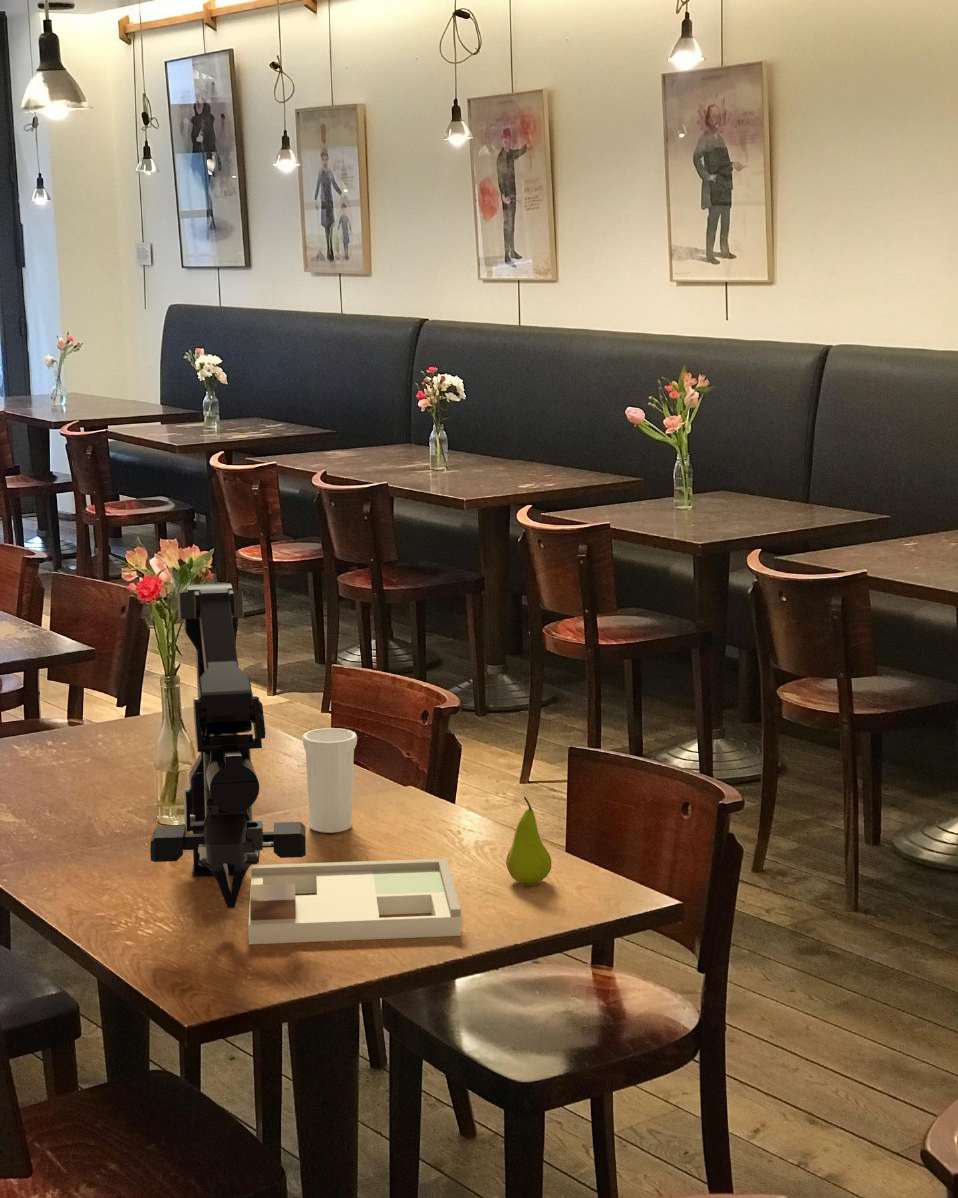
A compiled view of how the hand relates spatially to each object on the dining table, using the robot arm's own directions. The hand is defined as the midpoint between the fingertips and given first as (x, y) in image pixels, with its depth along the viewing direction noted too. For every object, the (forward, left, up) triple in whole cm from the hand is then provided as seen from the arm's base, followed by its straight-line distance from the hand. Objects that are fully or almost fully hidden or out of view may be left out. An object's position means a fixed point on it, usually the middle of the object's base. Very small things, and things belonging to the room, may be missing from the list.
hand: (231, 907), depth 198 cm
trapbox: (+15, +5, -3) cm, 16 cm away
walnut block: (+5, 0, -1) cm, 5 cm away
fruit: (+39, +13, -4) cm, 41 cm away
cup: (+13, +38, -3) cm, 40 cm away
